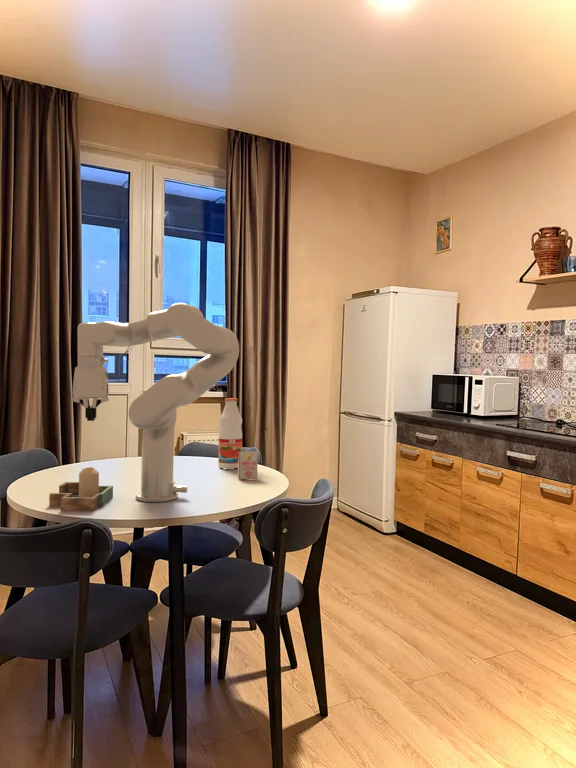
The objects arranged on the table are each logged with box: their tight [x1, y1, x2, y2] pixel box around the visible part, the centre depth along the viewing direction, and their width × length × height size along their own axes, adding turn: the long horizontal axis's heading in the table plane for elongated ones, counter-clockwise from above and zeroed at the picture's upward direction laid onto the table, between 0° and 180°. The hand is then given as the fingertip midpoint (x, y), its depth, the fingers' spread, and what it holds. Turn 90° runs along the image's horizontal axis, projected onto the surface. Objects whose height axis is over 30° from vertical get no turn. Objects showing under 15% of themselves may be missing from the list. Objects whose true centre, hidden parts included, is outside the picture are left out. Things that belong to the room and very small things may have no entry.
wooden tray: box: [48, 481, 114, 512], centre depth 160 cm, size 16×21×4 cm
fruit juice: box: [217, 397, 243, 470], centre depth 218 cm, size 9×9×28 cm
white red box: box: [237, 451, 258, 480], centre depth 197 cm, size 4×7×10 cm, turn 100°
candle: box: [78, 466, 100, 498], centre depth 160 cm, size 6×6×10 cm
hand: (91, 420), depth 171 cm, fingers closed
